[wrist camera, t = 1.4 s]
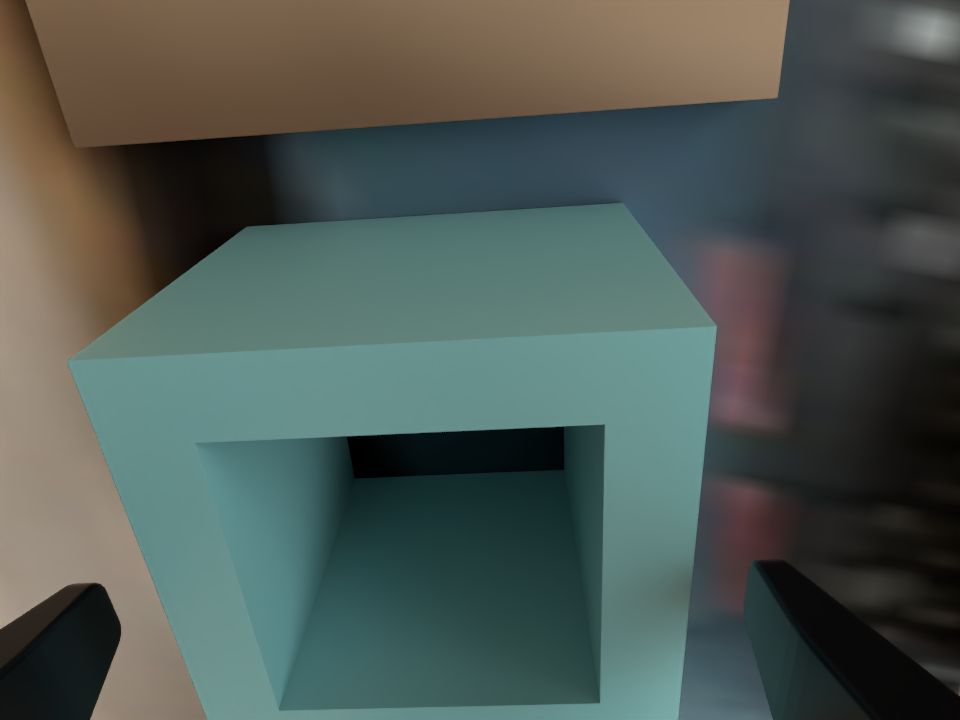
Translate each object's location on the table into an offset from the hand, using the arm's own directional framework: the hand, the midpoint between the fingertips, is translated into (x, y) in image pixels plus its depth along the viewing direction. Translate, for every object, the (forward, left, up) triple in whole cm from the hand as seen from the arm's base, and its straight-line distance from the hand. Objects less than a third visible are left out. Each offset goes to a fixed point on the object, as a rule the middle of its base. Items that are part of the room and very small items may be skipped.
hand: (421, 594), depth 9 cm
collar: (0, 0, -6) cm, 6 cm away
